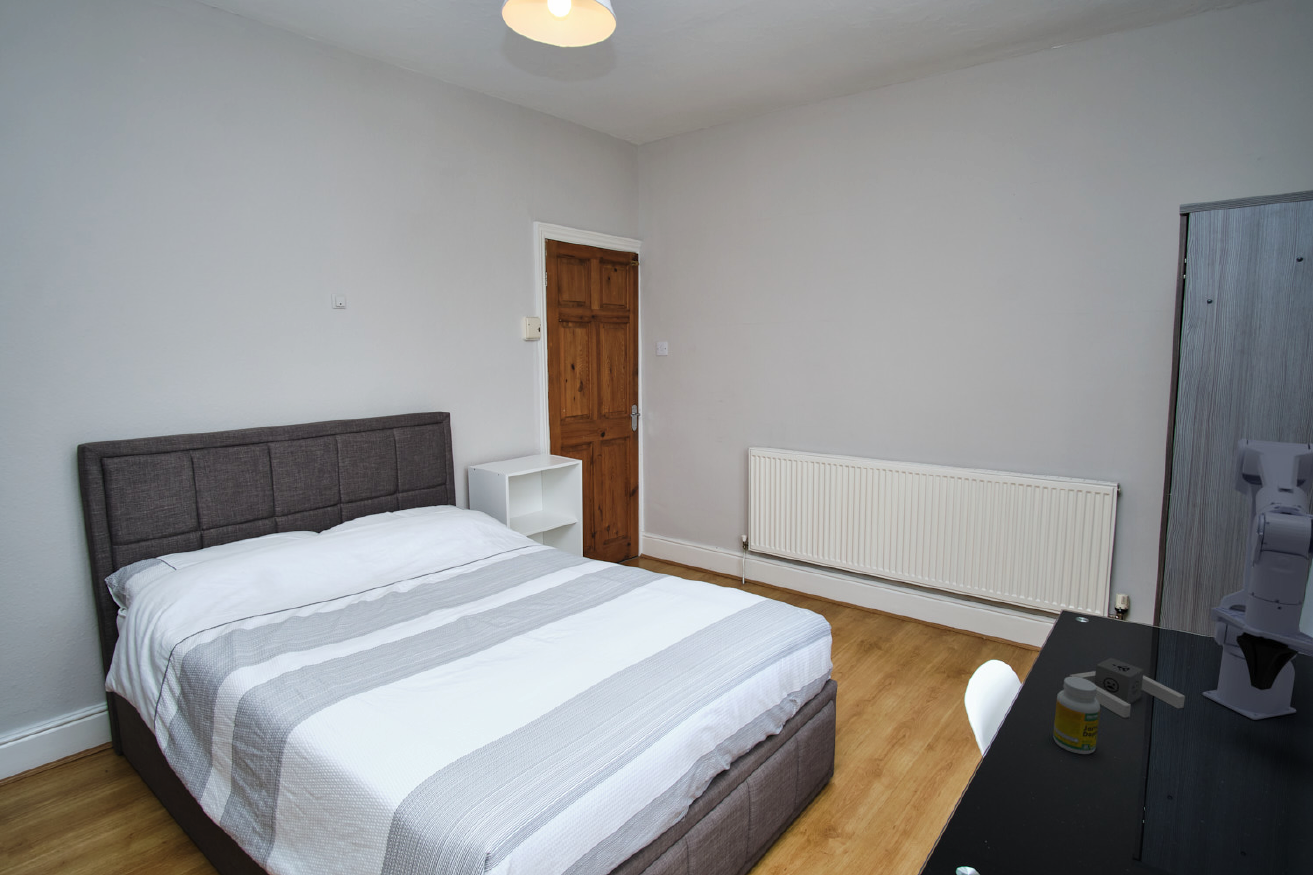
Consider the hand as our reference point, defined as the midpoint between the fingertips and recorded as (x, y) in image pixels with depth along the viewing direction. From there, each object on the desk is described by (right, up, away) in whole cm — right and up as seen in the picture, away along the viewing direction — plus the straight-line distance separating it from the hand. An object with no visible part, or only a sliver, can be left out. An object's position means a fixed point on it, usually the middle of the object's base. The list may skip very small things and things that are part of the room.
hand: (1260, 687), depth 98 cm
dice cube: (-10, -7, +16) cm, 20 cm away
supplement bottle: (-26, -9, +1) cm, 28 cm away
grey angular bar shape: (-9, -7, +15) cm, 19 cm away
